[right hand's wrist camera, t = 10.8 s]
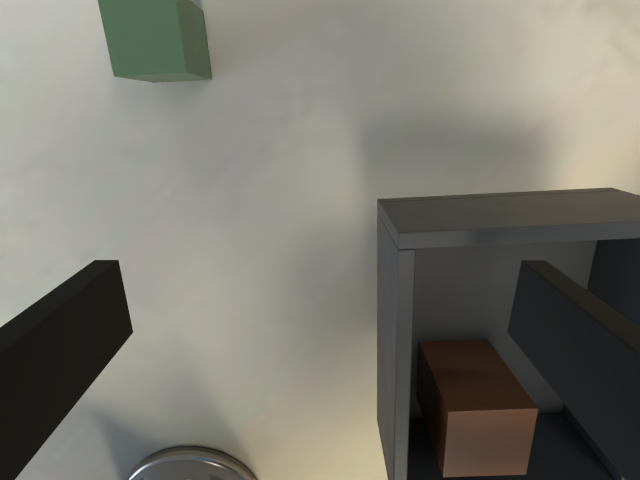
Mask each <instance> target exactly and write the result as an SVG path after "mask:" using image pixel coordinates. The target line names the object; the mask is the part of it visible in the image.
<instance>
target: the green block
mask: <svg viewBox="0 0 640 480" xmlns="http://www.w3.org/2000/svg"><path fill="white" fill-rule="evenodd" d="M98 4H99V8H100V13H101V18H102V22H103V27H104V32H105V36H106V41H107V46H108V50H109V55H110V60H111V65H112V69H113V74H114V76H115V77H121V78H128V79H135V80H142V81H148V82H169V81H189V80H208V79H212V75H211V67H210V60H209V52H208V45H207V37H206V30H205V22H204V15H203V11H201V10H200V9H199V8H198V7H197V6H195V5H194V4H193V3H192V2H191V1H190V0H98Z"/></svg>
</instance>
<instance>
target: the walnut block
mask: <svg viewBox="0 0 640 480" xmlns="http://www.w3.org/2000/svg"><path fill="white" fill-rule="evenodd" d="M416 398H417V401H418V404H419V407H420V410H421V413H422V416H423V419H424V422H425V425H426V428H427V431H428V434H429V437H430V440H431V443H432V446H433V449H434V452H435V455H436V458H437V461H438V464H439V467H440V471H441V474H442V476H443V477H468V476H497V475H525V474H526V472H527V467H528V462H529V456H530V451H531V446H532V440H533V435H534V430H535V424H536V419H537V413H538V408H537V406H536V405H535V404H534V402H533V401H532V399H531V398H530V397H529V395H528V394H527V392H526V391H525V390H524V388H523V387H522V386H521V384H520V383H519V381H518V380H517V379H516V377H515V376H514V374H513V373H512V372H511V370H510V369H509V368H508V366H507V365H506V363H505V362H504V361H503V359H502V358H501V356H500V355H499V354H498V352H497V351H496V350H495V348H494V347H493V345H492V344H491V343H490V341H489V340H488V339H481V340H455V341H429V342H419V349H418V369H417V390H416Z"/></svg>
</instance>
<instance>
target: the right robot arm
mask: <svg viewBox="0 0 640 480" xmlns="http://www.w3.org/2000/svg"><path fill="white" fill-rule="evenodd" d="M132 333H133V330H132V325H131V320H130V315H129V310H128V305H127V300H126V295H125V290H124V285H123V281H122V276H121V271H120V266H119V261H118V260H94V261H93V262H92V263H90V264H89V265H87V266H86V267H85V268H83V269H82V270H80V271H79V272H78V273H76V274H75V275H73V276H72V277H71V278H69V279H68V280H66V281H65V282H64V283H62V284H61V285H59V286H58V287H57V288H55V289H54V290H52V291H51V292H50V293H48V294H47V295H45V296H44V297H43V298H41V299H40V300H38V301H37V302H36V303H34V304H33V305H31V306H30V307H29V308H27V309H26V310H24V311H23V312H22V313H20V314H19V315H17V316H16V317H15V318H13V319H12V320H10V321H9V322H8V323H6V324H5V325H3V326H2V327H1V328H0V480H15V479H16V477H17V476H18V475H19V474H20V472H21V471H22V470H23V469H24V468H25V466H26V465H27V464H28V463H29V461H30V460H31V459H32V458H33V456H34V455H35V454H36V453H37V451H38V450H39V449H40V448H41V446H42V445H43V444H44V443H45V441H46V440H47V439H48V438H49V436H50V435H51V434H52V433H53V431H54V430H55V429H56V428H57V426H58V425H59V424H60V423H61V421H62V420H63V419H64V418H65V416H66V415H67V414H68V413H69V411H70V410H71V409H72V408H73V406H74V405H75V404H76V403H77V401H78V400H79V399H80V398H81V397H82V395H83V394H84V393H85V392H86V390H87V389H88V388H89V387H90V385H91V384H92V383H93V382H94V380H95V379H96V378H97V377H98V375H99V374H100V373H101V372H102V370H103V369H104V368H105V367H106V365H107V364H108V363H109V362H110V360H111V359H112V358H113V357H114V355H115V354H116V353H117V352H118V350H119V349H120V348H121V347H122V345H123V344H124V343H125V342H126V340H127V339H128V338H129V337H130V335H131V334H132ZM507 333H508V334H509V335H510V337H511V338H512V339H513V340H514V342H515V343H516V344H517V345H518V347H519V348H520V349H521V350H522V352H523V353H524V354H525V355H526V357H527V358H528V359H529V360H530V362H531V363H532V364H533V365H534V367H535V368H536V369H537V370H538V372H539V373H540V374H541V375H542V377H543V378H544V379H545V380H546V382H547V383H548V384H549V385H550V387H551V388H552V389H553V390H554V392H555V393H556V394H557V395H558V397H559V398H560V399H561V400H562V401H563V403H564V404H565V405H566V406H567V408H568V409H569V410H570V411H571V413H572V414H573V415H574V416H575V418H576V419H577V420H578V421H579V423H580V424H581V425H582V426H583V428H584V429H585V430H586V431H587V433H588V434H589V435H590V436H591V438H592V439H593V440H594V441H595V443H596V444H597V445H598V446H599V448H600V449H601V450H602V451H603V453H604V454H605V455H606V456H607V458H608V459H609V460H610V461H611V463H612V464H613V465H614V466H615V468H616V469H617V470H618V471H619V472H620V474H621V475H622V476H623V477H624V479H625V480H640V328H639V327H638V326H637V325H635V324H634V323H632V322H631V321H630V320H628V319H627V318H625V317H624V316H623V315H621V314H620V313H618V312H617V311H616V310H614V309H613V308H611V307H610V306H609V305H607V304H606V303H604V302H603V301H602V300H600V299H599V298H597V297H596V296H595V295H593V294H592V293H590V292H589V291H588V290H586V289H585V288H583V287H582V286H581V285H579V284H578V283H576V282H575V281H574V280H572V279H571V278H569V277H568V276H567V275H565V274H564V273H562V272H561V271H560V270H558V269H557V268H555V267H554V266H553V265H551V264H550V263H548V262H547V261H546V260H522V261H521V266H520V271H519V276H518V281H517V285H516V290H515V295H514V300H513V305H512V310H511V315H510V320H509V325H508V330H507ZM128 480H256V479H255V477H254V476H253V475H252V473H251V472H250V471H249V470H248V469H247V468H246V467H245V466H244V465H242V464H241V463H240V462H238V461H237V460H235V459H233V458H232V457H230V456H228V455H226V454H223V453H221V452H218V451H214V450H211V449H206V448H200V447H176V448H170V449H166V450H162V451H160V452H157V453H155V454H152V455H150V456H149V457H147V458H145V459H144V460H143V461H141V462H140V463H139V464H138V465H137V466H136V467H135V468H134V470H133V471H132V473H131V475H130V477H129V479H128Z"/></svg>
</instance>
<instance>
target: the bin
mask: <svg viewBox="0 0 640 480" xmlns="http://www.w3.org/2000/svg"><path fill="white" fill-rule="evenodd" d="M522 260H546V261H547V262H548V263H550V264H551V265H553V266H554V267H555V268H557V269H558V270H560V271H561V272H562V273H564V274H565V275H567V276H568V277H569V278H571V279H572V280H574V281H575V282H576V283H578V284H579V285H581V286H582V287H583V288H585V289H586V290H588V291H589V292H590V293H592V294H593V295H595V296H596V297H597V298H599V299H600V300H602V301H603V302H604V303H606V304H607V305H609V306H610V307H611V308H613V309H614V310H616V311H617V312H618V313H620V314H621V315H623V316H624V317H625V318H627V319H628V320H630V321H631V322H632V323H634V324H635V325H637V326H638V327H639V328H640V196H639V195H635V194H632V193H628V192H624V191H621V190H618V189H614V188H594V189H573V190H553V191H532V192H512V193H492V194H471V195H451V196H430V197H410V198H389V199H378V200H377V421H378V427H379V432H380V438H381V443H382V448H383V454H384V459H385V465H386V470H387V476H388V480H625V479H624V477H623V476H622V475H621V474H620V472H619V471H618V470H617V469H616V468H615V466H614V465H613V464H612V463H611V461H610V460H609V459H608V458H607V456H606V455H605V454H604V453H603V451H602V450H601V449H600V448H599V446H598V445H597V444H596V443H595V441H594V440H593V439H592V438H591V436H590V435H589V434H588V433H587V431H586V430H585V429H584V428H583V426H582V425H581V424H580V423H579V421H578V420H577V419H576V418H575V416H574V415H573V414H572V413H571V411H570V410H569V409H568V408H567V406H566V405H565V404H564V403H563V401H562V400H561V399H560V398H559V397H558V395H557V394H556V393H555V392H554V390H553V389H552V388H551V387H550V385H549V384H548V383H547V382H546V380H545V379H544V378H543V377H542V375H541V374H540V373H539V372H538V370H537V369H536V368H535V367H534V365H533V364H532V363H531V362H530V360H529V359H528V358H527V357H526V355H525V354H524V353H523V352H522V350H521V349H520V348H519V347H518V345H517V344H516V343H515V342H514V340H513V339H512V338H511V337H510V335H509V334H508V333H507V330H508V325H509V320H510V315H511V310H512V305H513V300H514V295H515V290H516V285H517V281H518V276H519V271H520V266H521V261H522ZM481 339H488V340H489V341H490V343H491V344H492V345H493V347H494V348H495V350H496V351H497V352H498V354H499V355H500V356H501V358H502V359H503V361H504V362H505V363H506V365H507V366H508V368H509V369H510V370H511V372H512V373H513V374H514V376H515V377H516V379H517V380H518V381H519V383H520V384H521V386H522V387H523V388H524V390H525V391H526V392H527V394H528V395H529V397H530V398H531V399H532V401H533V402H534V404H535V405H536V406H537V408H538V413H537V419H536V424H535V430H534V435H533V440H532V446H531V451H530V456H529V462H528V467H527V472H526V474H525V475H497V476H468V477H443V476H442V474H441V471H440V467H439V464H438V461H437V458H436V455H435V452H434V449H433V446H432V443H431V440H430V437H429V434H428V431H427V428H426V425H425V422H424V419H423V416H422V413H421V410H420V407H419V404H418V401H417V398H416V390H417V369H418V349H419V342H429V341H455V340H481Z"/></svg>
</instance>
